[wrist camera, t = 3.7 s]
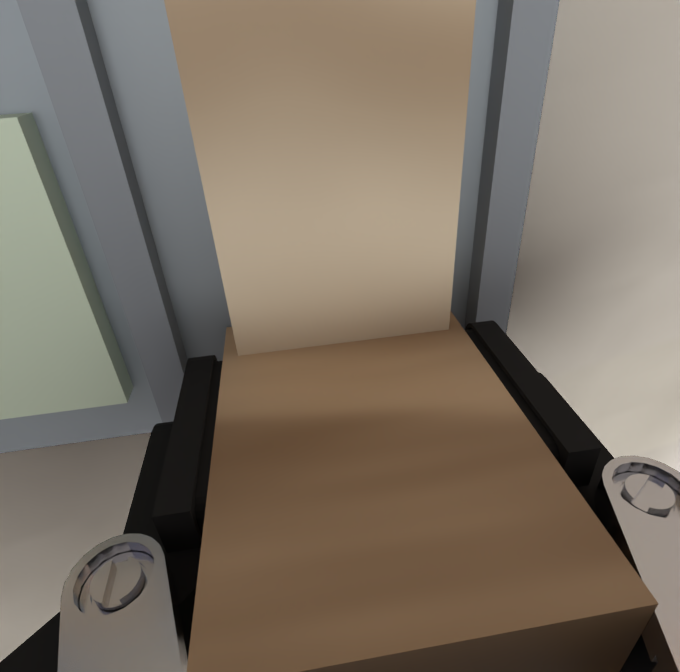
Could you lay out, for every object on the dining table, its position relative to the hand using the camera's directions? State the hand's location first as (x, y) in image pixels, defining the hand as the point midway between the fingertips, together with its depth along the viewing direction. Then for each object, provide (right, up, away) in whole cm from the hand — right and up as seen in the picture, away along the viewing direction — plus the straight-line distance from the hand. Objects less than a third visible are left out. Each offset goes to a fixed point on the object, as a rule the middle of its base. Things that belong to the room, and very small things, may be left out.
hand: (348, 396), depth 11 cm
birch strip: (-1, +10, -5) cm, 11 cm away
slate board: (-5, +10, -5) cm, 12 cm away
